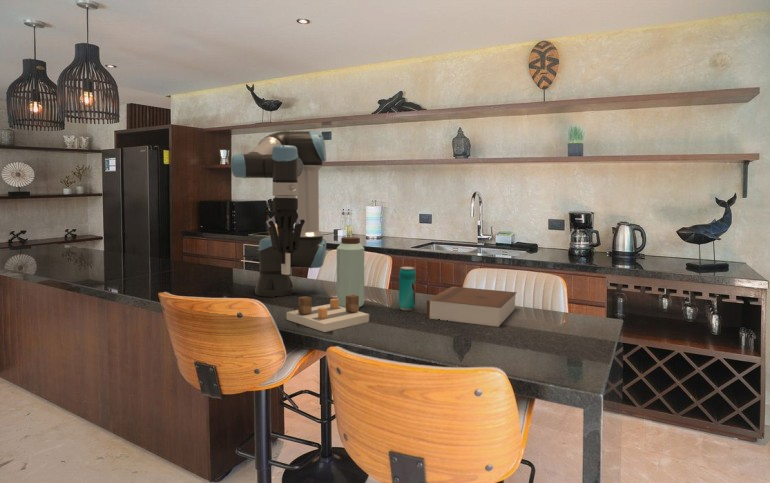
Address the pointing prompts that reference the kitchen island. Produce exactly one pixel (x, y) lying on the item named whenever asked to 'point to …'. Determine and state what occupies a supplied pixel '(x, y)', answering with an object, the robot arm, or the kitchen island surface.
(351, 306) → the tab
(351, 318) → the switch board
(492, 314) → the book
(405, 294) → the beverage can
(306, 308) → the tab
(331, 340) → the kitchen island surface
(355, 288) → the water bottle
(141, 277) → the kitchen island surface
